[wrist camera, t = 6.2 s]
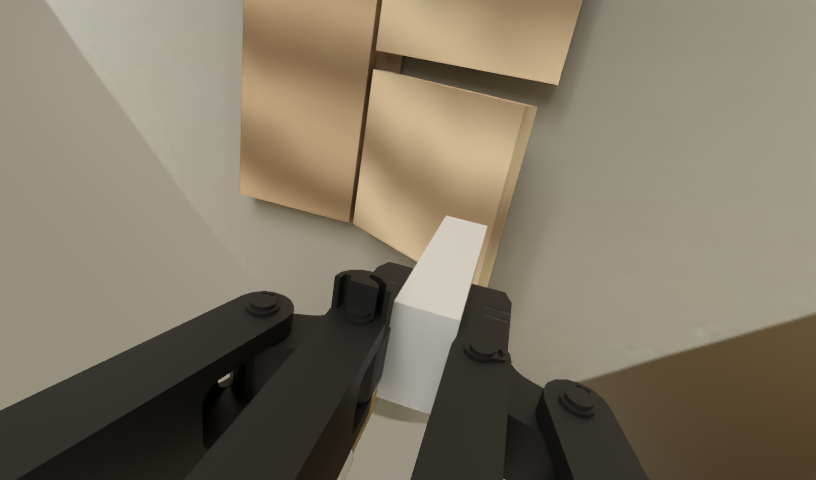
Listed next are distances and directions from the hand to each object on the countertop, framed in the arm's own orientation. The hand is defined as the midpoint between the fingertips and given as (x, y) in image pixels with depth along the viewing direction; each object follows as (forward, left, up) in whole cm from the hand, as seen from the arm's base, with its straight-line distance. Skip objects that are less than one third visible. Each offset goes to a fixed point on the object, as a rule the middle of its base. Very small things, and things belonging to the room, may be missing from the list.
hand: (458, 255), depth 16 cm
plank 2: (0, -3, -9) cm, 10 cm away
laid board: (-6, -12, -12) cm, 18 cm away
